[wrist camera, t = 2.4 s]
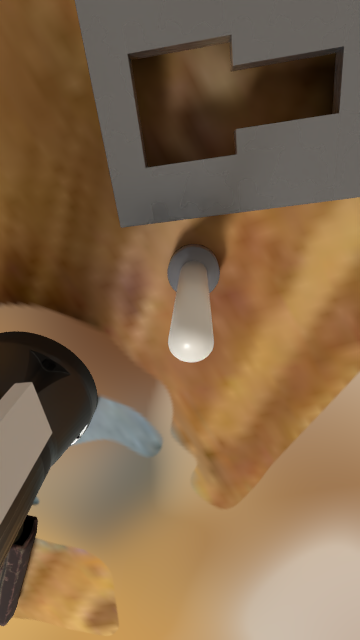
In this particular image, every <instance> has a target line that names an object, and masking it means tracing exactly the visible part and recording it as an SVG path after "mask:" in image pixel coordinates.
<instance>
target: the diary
mask: <svg viewBox="0 0 360 640" xmlns="http://www.w3.org/2000/svg"><path fill="white" fill-rule="evenodd" d="M37 522H38V519H37V517H35V516H30V515H27V516H26V518H25V520H24V522H23V524H22V526H21V528H20V530H19V532H18V535H17V537H16V538H15V540H14V542H13V544H12V546H11V548H10V550H9V552H8V554H7V556H6V558H5V560H4V563H3V565H2V567H1V569H0V625H1V626H4V625H6V624H7V623H8V621H9V620H10V619H11V618H12V616H13V615H14V612H15V610H16V607H17V604H18V599H19V595H20V591H21V587H22V584H23V580H24V577H25V574H26V570H27V566H28V561H29V557H30V552H31V549H32V546H33V543H34V539H35V536H36V533H37ZM22 532H24V533H26V534H29V537H28V539H27V540H26V541H25V543H24V544H23V546H20V541H21V537H22Z"/></svg>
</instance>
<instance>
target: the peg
mask: <svg viewBox="0 0 360 640" xmlns="http://www.w3.org/2000/svg"><path fill="white" fill-rule="evenodd" d="M219 275H220V271H219V266H218V262H217V259H216V257H215V255H214V254H213V252H212V251H211V250H209V249H208V248H206V247H205V246H202V245H198V244H190V245H186V246H183V247H181V248H180V249H178V250H177V251H176V252H175V253H174V255H173V256H172V258H171V260H170V263H169V267H168V280H169V283H170V285H171V286H172V288H173V289H174V290H175V291H176V292H177V293H176V298H175V304H174V310H173V316H172V322H171V327H170V333H169V339H168V345H169V349H170V351H171V353H172V354H173V355H174V356H175V357H176V358H178V359H179V360H182V361H185V362H198V361H201V360H203V359H205V358H206V357H207V356H208V355H209V354H210V353H211V351H212V349H213V346H214V338H213V328H212V318H211V308H210V298H209V293H210V292H211V291H212V290H213V289H214V288H215V287H216V285H217V283H218V280H219Z"/></svg>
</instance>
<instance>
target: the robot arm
mask: <svg viewBox="0 0 360 640" xmlns="http://www.w3.org/2000/svg"><path fill="white" fill-rule="evenodd" d="M96 406H97V390H96V386H95V383H94V380H93V378H92V375H91V374H90V372H89V370H88V369H87V367H86V366H85V365H84V363H83V362H82V361H81V360H80V359H79V358H78V357H77V356H76V355H75V354H74V353H73V352H71V351H70V350H69V349H67V348H66V347H64V346H63V345H61V344H59V343H57V342H56V341H54V340H52V339H49V338H47V337H44V336H41V335H38V334H33V333H28V332H4V333H0V569H1V567H2V565H3V563H4V560H5V558H6V556H7V554H8V552H9V550H10V548H11V546H12V544H13V542H14V540H15V538H16V536H17V534H18V532H19V530H20V528H21V526H22V524H23V522H24V520H25V518H26V516H27V514H28V512H29V510H30V508H31V506H32V504H33V502H34V500H35V497H36V495H37V493H38V491H39V489H40V487H41V485H42V483H43V481H44V479H45V477H46V475H47V473H48V471H49V469H50V467H51V466H52V465H53V464H54V463H55V462H56V461H57V460H58V459H59V458H60V457H61V456H62V454H63V453H64V452H65V451H66V450H67V449H68V447H69V446H71V445H72V444H74V443H75V442H76V441H77V440H78V439H79V438H80V437H81V436H82V435H83V434H84V432H85V431H86V429H87V428H88V426H89V424H90V422H91V419H92V417H93V415H94V412H95V410H96Z"/></svg>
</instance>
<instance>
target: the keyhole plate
mask: <svg viewBox="0 0 360 640" xmlns="http://www.w3.org/2000/svg"><path fill="white" fill-rule="evenodd" d="M75 4H76V9H77V14H78V19H79V24H80V29H81V34H82V39H83V44H84V49H85V53H86V58H87V63H88V68H89V73H90V78H91V83H92V88H93V93H94V98H95V103H96V108H97V113H98V118H99V123H100V127H101V132H102V137H103V142H104V147H105V152H106V157H107V162H108V167H109V172H110V177H111V182H112V187H113V192H114V196H115V201H116V206H117V211H118V216H119V221H120V226H121V228H122V227H129V226H137V225H145V224H153V223H161V222H169V221H176V220H184V219H192V218H200V217H208V216H215V215H223V214H231V213H239V212H247V211H254V210H262V209H270V208H278V207H286V206H293V205H301V204H309V203H317V202H325V201H332V200H340V199H348V198H356V197H360V0H75ZM228 42H230V61H231V71H236V70H242V69H248V68H253V67H259V66H265V65H271V64H276V63H282V62H288V61H294V60H299V59H305V58H311V57H317V56H323V55H328V54H334V53H336V62H335V78H334V93H333V109H332V114H330V115H324V116H317V117H311V118H305V119H298V120H292V121H285V122H279V123H272V124H266V125H259V126H253V127H246V128H240V129H236V130H235V131H234V143H235V155H230V156H223V157H216V158H209V159H203V160H196V161H189V162H182V163H175V164H168V165H162V166H155V167H148V166H147V159H146V153H145V146H144V140H143V133H142V127H141V120H140V114H139V108H138V101H137V95H136V88H135V82H134V75H133V69H132V63H131V60H135V59H140V58H146V57H151V56H157V55H162V54H168V53H173V52H179V51H184V50H189V49H195V48H200V47H206V46H211V45H217V44H222V43H228Z"/></svg>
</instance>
